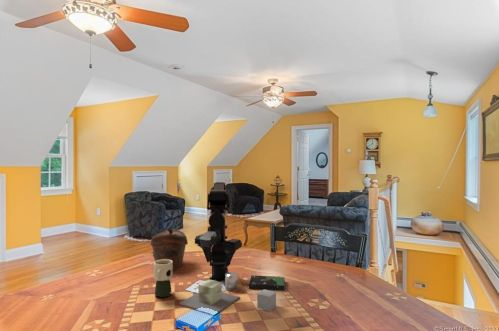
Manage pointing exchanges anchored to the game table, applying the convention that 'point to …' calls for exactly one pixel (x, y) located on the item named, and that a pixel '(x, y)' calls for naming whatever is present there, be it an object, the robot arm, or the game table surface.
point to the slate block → (266, 300)
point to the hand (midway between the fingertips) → (217, 264)
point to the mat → (217, 306)
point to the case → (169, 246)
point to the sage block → (210, 291)
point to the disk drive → (267, 283)
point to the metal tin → (231, 281)
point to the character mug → (163, 277)
